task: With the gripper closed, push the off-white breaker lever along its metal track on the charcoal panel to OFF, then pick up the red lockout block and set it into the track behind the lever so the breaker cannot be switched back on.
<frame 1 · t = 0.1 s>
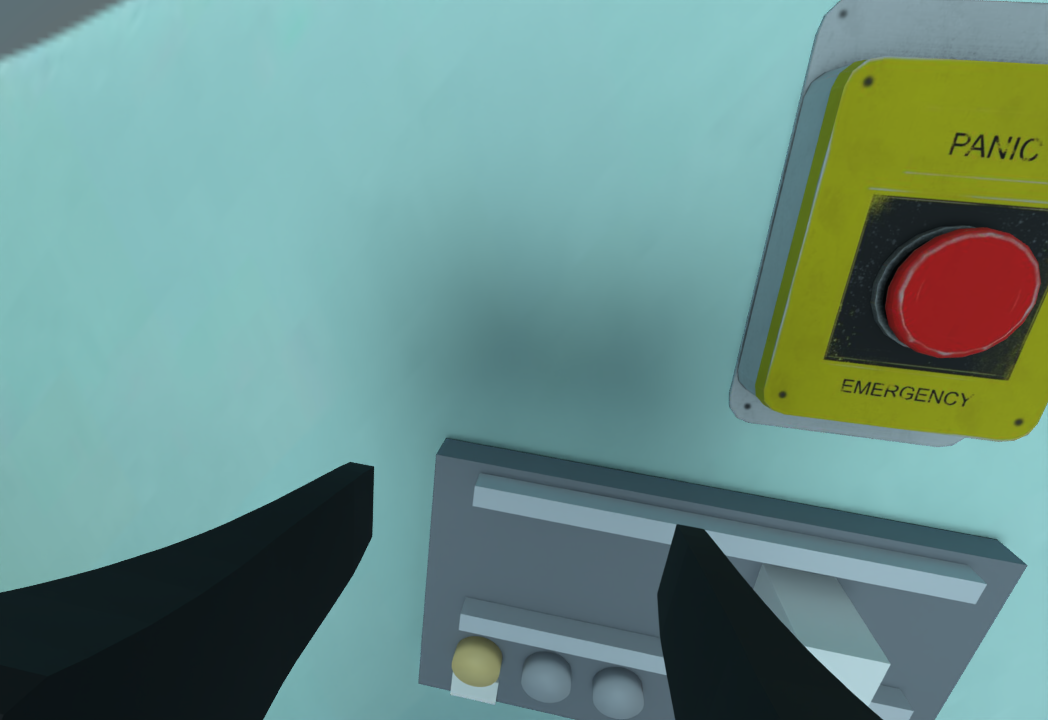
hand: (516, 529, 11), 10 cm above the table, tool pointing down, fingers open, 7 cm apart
emergency button: (889, 246, 18), on the table
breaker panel: (672, 607, 24), on the table
breaker lever: (801, 650, 19), point 3 cm above the table, slide at 0.0 cm
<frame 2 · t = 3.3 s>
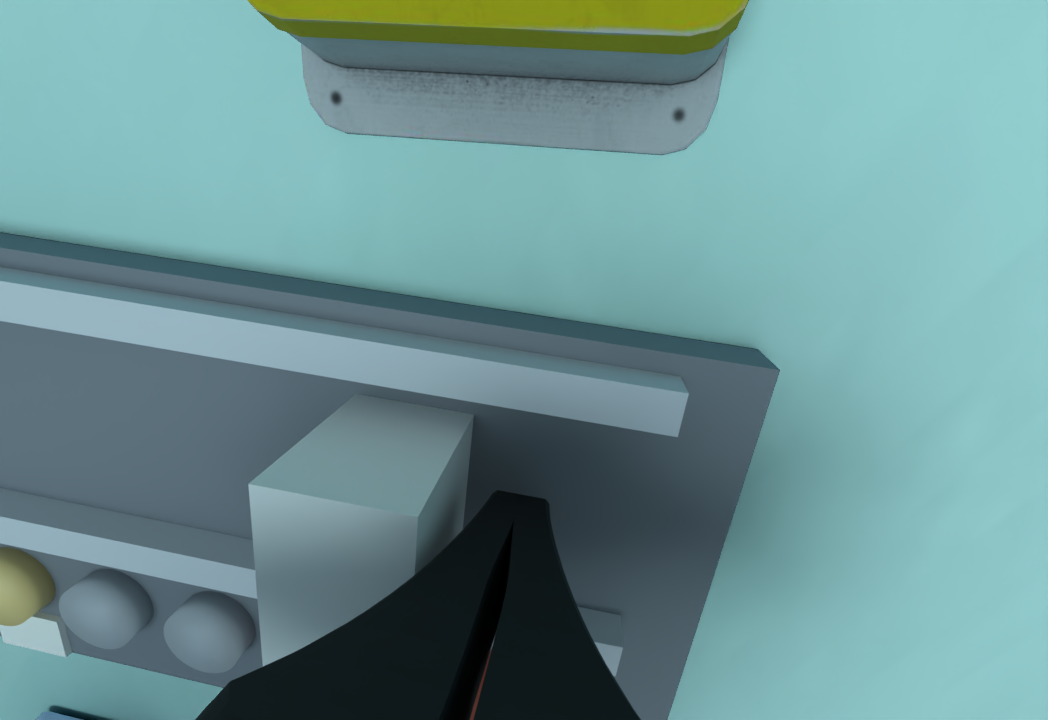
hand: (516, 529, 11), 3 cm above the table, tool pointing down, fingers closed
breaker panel: (302, 499, 15), on the table
breaker lever: (378, 530, 11), point 3 cm above the table, slide at 0.1 cm, touching gripper
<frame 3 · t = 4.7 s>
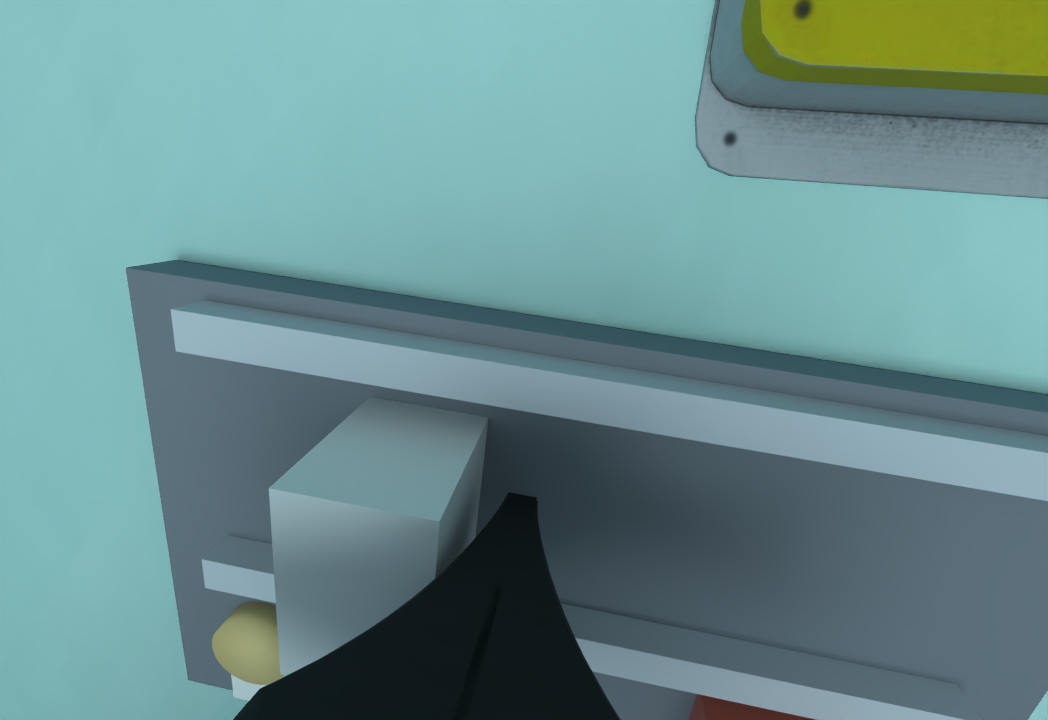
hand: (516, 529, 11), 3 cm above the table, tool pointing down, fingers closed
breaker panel: (573, 552, 14), on the table
breaker lever: (394, 533, 11), point 3 cm above the table, slide at 8.3 cm, touching gripper
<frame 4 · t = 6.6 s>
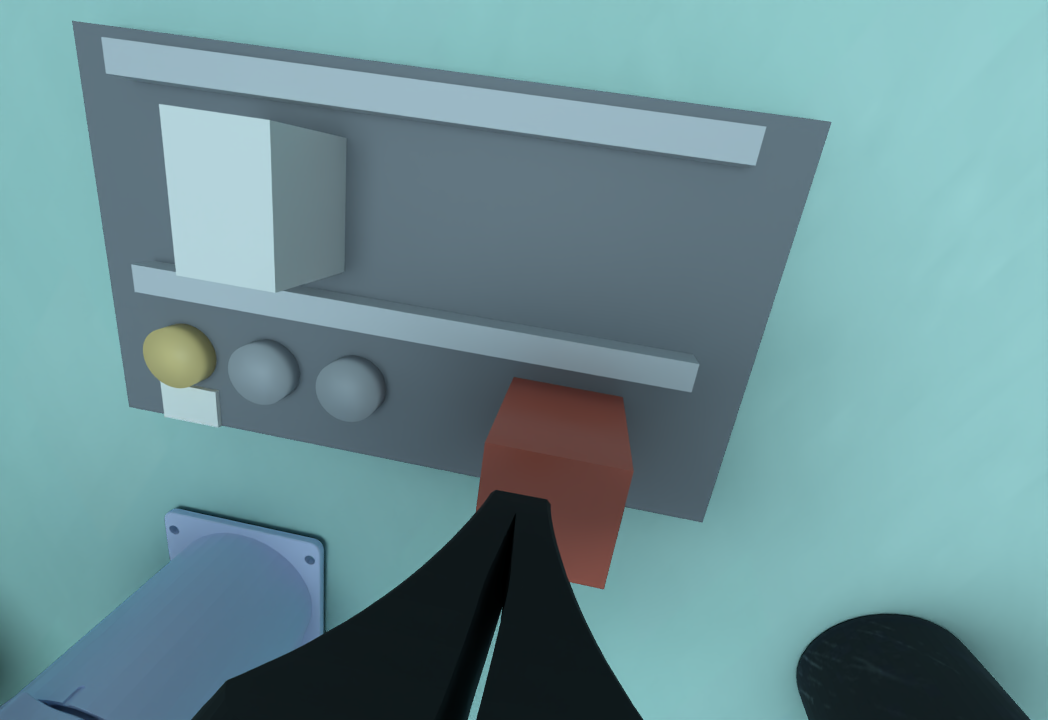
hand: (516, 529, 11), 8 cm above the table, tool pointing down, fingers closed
lockout block: (558, 435, 18), point 1 cm above the table, touching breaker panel
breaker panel: (426, 284, 19), on the table
travel mug: (878, 671, 22), on the table
breaker lever: (267, 201, 15), point 4 cm above the table, slide at 8.1 cm
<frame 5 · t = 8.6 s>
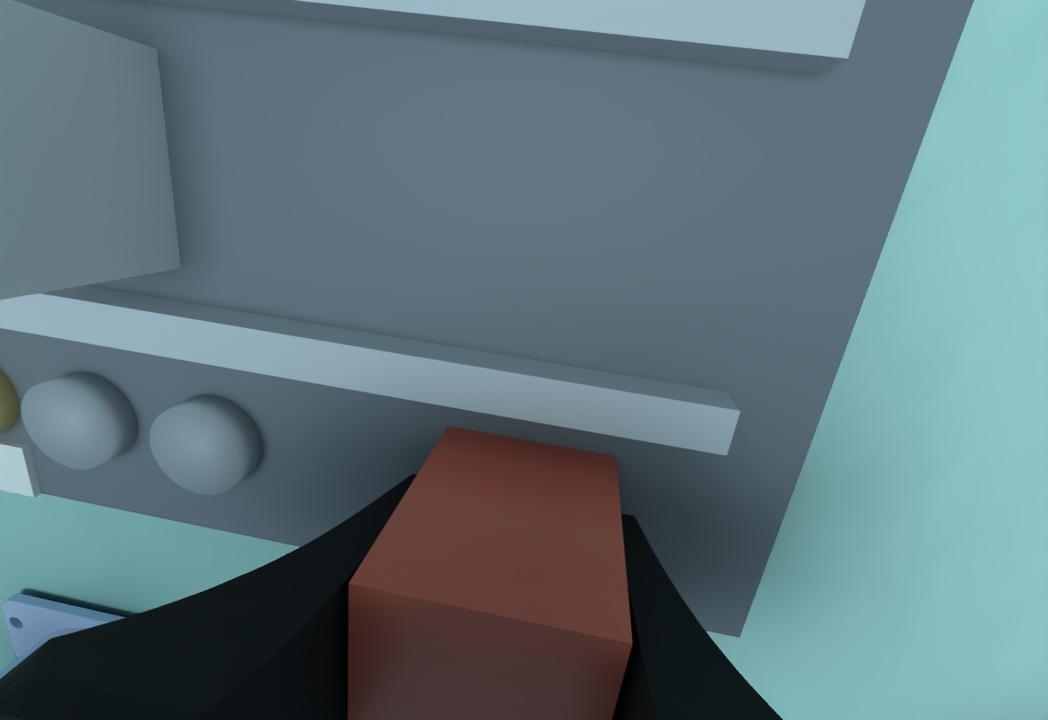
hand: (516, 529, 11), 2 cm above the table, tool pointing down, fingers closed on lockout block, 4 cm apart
lockout block: (520, 511, 12), point 1 cm above the table, touching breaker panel, gripper
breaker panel: (320, 286, 12), on the table
breaker lever: (0, 149, 9), point 4 cm above the table, slide at 8.1 cm
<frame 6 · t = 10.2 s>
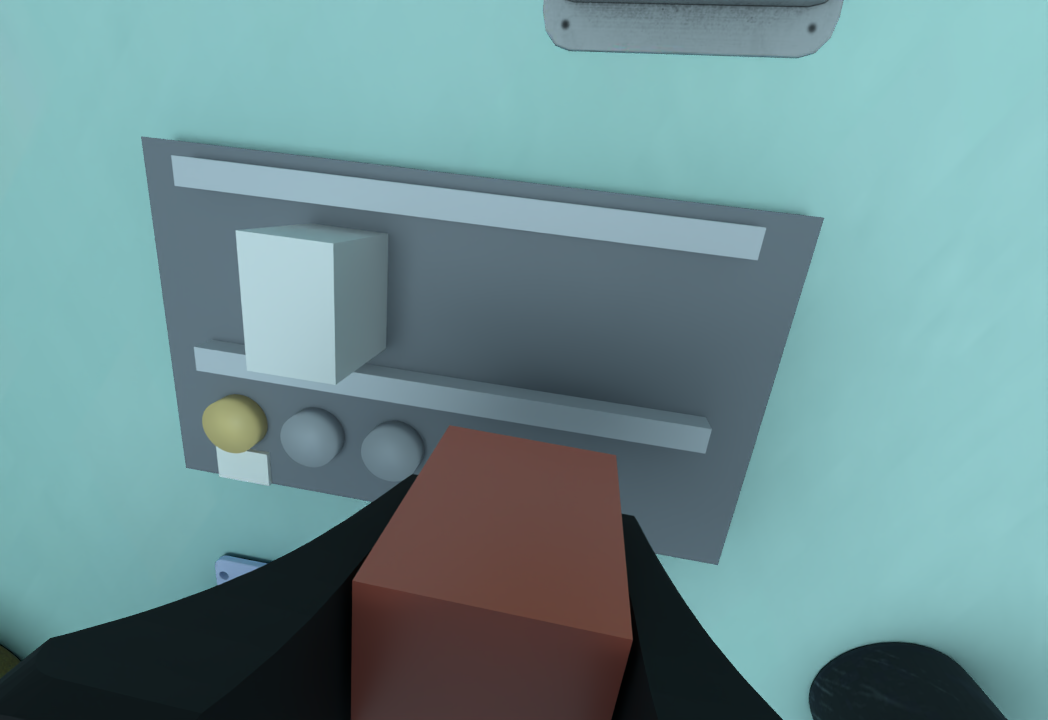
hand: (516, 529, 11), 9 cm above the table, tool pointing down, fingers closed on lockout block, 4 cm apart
lockout block: (521, 510, 12), point 9 cm above the table, touching gripper
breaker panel: (458, 353, 20), on the table
travel mug: (885, 694, 23), on the table
breaker lever: (322, 297, 17), point 4 cm above the table, slide at 8.1 cm
when the fingers open (4 cm above the table, at t = 11.9 s): lockout block drops 1 cm, resting on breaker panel.
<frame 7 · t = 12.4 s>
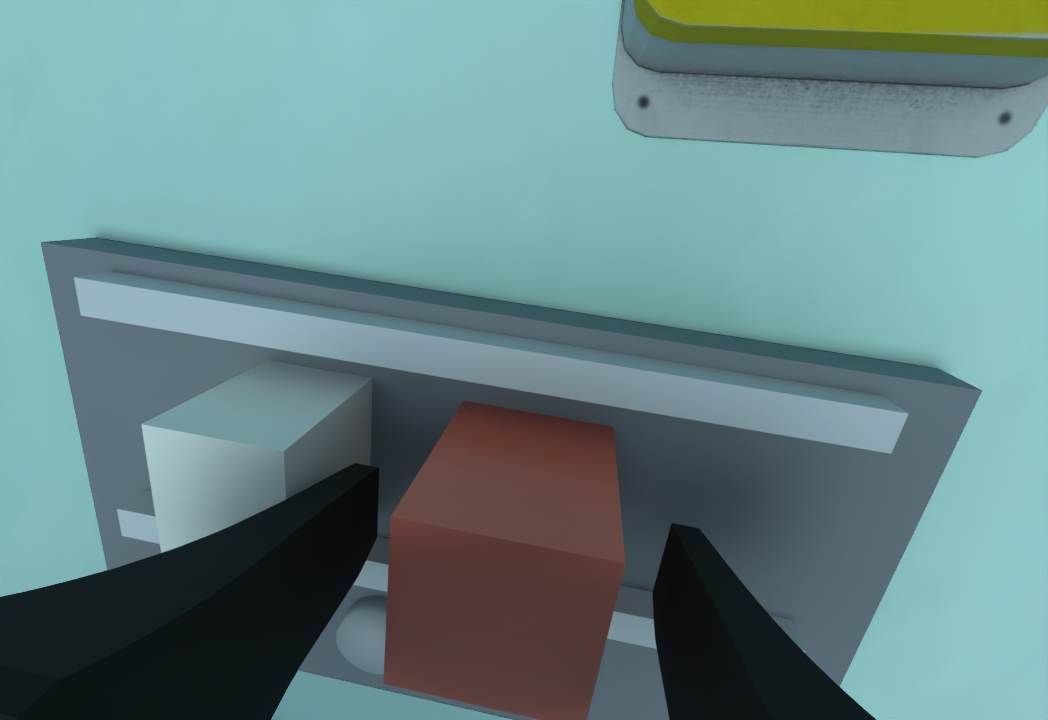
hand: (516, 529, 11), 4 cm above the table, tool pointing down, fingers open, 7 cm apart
lockout block: (527, 478, 13), point 1 cm above the table, touching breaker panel
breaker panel: (463, 507, 16), on the table
breaker lever: (278, 477, 12), point 4 cm above the table, slide at 8.1 cm, touching gripper
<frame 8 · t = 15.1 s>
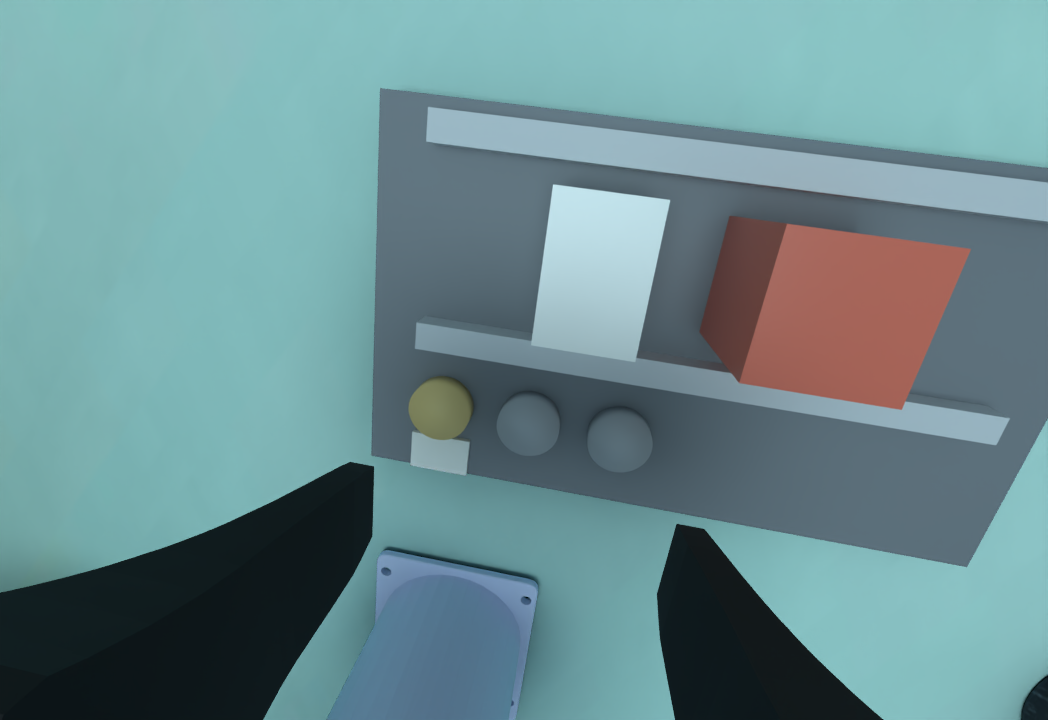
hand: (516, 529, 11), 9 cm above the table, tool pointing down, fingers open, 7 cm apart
lockout block: (773, 285, 16), point 1 cm above the table, touching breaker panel
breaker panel: (688, 334, 19), on the table
breaker lever: (595, 267, 15), point 4 cm above the table, slide at 8.1 cm
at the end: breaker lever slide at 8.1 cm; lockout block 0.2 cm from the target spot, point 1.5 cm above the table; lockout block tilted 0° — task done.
